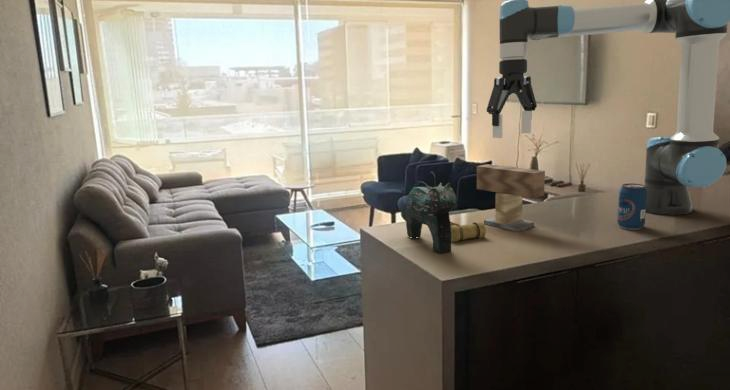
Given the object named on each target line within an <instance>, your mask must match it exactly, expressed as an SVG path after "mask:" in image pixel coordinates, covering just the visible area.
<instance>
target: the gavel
mask: <svg viewBox="0 0 730 390" xmlns="http://www.w3.org/2000/svg"><path fill="white" fill-rule="evenodd" d="M450 225H451V235H452V237H451V243H457V242H459V241H464V240H469V239H470V240H471V239H475V238H476V239H481V238H482V239H483V238H485V237H486V233H487V230H486V227H485V224H484V222H483V221H475V222H472V223H469V224H462V225H461V224H458V223H456V222H453V221H450Z"/></svg>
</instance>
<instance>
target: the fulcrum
mask: <svg viewBox="0 0 730 390" xmlns="http://www.w3.org/2000/svg"><path fill="white" fill-rule="evenodd" d="M494 205H495V212H494V213H495V216H493V217H490V218H486V219H483V224H484V225H487V226H491V227H494V228H500V229H504V230H508V231H513V232H520V231H524V230H526V229H530V228H532V227H535V222H534V221H531V220H525V219H523V197H522V196H516V195H510V194H504V193H498V192H495V204H494Z"/></svg>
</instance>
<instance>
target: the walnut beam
mask: <svg viewBox="0 0 730 390" xmlns="http://www.w3.org/2000/svg"><path fill="white" fill-rule="evenodd" d="M545 177H546V170H542V169H541V170H539V169H532V168H531V169H530V168H525V167H524V168H523V167H513V166H505V165H499V164H489V163H487V164H482V165H478V166H477V165H476V190H480V191H481V190H483V191H487V192H493V193H504V194H510V195H516V196H522V198H528V199H537V198H540V197H544V196H545V181H546V179H545Z"/></svg>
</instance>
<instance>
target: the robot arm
mask: <svg viewBox="0 0 730 390" xmlns="http://www.w3.org/2000/svg"><path fill="white" fill-rule="evenodd" d="M498 20H499V57H498V58H499V59H500V61H498V63H499V64H498V72H499V73H498V74H499V75H502V76H501V77H494V80H493V88H492V90H491V94H490V98H489V100H488V104H487V107H486V112H487V113H488V114H489V115H491V125H492V138H493V139H495V138H496V139H502V138H503V113H501V112H502V110H503V108H504V107H505V104H506V102H507V100H508V99H509V96H511V95H512V94H514V95H516V97H517V99H518V101H519V103H520V105H521V107H522V109H523V110H521V134H531V133H532V113H533V111H536V108H537V106H538V104H537V101H536V96H535V94H534V89H533V86H532V78H531V76H530V75H527V76H524V74H526V73H527V72H528V60H527V59H526V58H527V57H528V54H529V53H528V52H529V51H528V48H529V47H528V43H529V42H528V40H530V41H539V40H544V39H555V38H564V37H566V38H567V37H578V36H588V35H600V34H611V33H623V32H624V33H626V32H634V31H636V32H637V31H642V32H643V33H644V34H654V33H660V34H661V33H665V34H666V33H670V34H675V35H674V36H675V41H676V42H677V43H679V44H680V46H681V47H680V48H681V49H680V62H679V63H680V65H679V66H680V67H679V68H680V69H679V83H678V85H679V86H678V89H679V90H678V101H677V119H676V120H677V121H676V132H675V133H674V134H673V135H672V136H658V137H656V136H655V137H650V138H649V139H648V141H647V146H646V149H645V151H646V154H645V156H646V157H645V158H646V159H645V170H644V171H645V173H644V183H643V185H645V189H646V191H647V202H646V213H650V214H655V215H656V214H657V215H666V214H667V215H669V216H672V215H673V216H674V215H675V216H679V215H687V214H690V213H692V210H693V202H692V199H691V195H690V191H689V188H688V187H692V188H704V187H708V186H711V185H713V184H715V183H716V182H717V181H718V180H720V179H721V178H722V177H723V175H724V174H725V171H726V168H727V157H726V156H725V154H724V153H723V151H722V150H721V149H720V148H719V145H720V136H718V135H717V134H716V133H715V132H714V122H715V121H714V120H715V108H716V93H717V77H718V68H719V67H718V65H719V52H720V51H719V48H720V41H721V40H723V38H724V37H726V36H727V34H728V23H730V0H645V1H644V2H639V3H633V4H632V3H629V4H621V5H620V4H619V5H609V6H600V7H599V6H596V7H586V8H576V9H574V8H573V6H572V5H562V4H559V5H553V6H538V7H534V6H533V7H532V6H530V4H529V1H528V0H507V1H503V2H502V3H501V4H500V7H499V19H498Z"/></svg>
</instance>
